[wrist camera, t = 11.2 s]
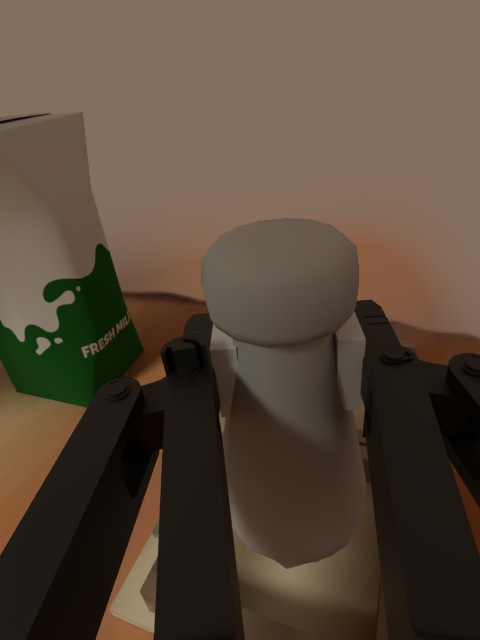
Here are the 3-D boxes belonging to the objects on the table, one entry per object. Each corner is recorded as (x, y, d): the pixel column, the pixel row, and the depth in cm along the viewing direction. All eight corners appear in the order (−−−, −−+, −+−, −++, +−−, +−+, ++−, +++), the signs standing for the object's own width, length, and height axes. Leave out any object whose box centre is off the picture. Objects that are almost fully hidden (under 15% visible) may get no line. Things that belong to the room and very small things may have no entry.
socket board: (113, 615, 17) (96, 589, 16) (262, 342, 33) (260, 317, 32) (392, 744, 13) (401, 724, 12) (412, 364, 29) (417, 337, 28)
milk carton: (74, 333, 37) (-24, 81, 26) (160, 345, 34) (89, 67, 23) (-2, 399, 30) (-177, 97, 19) (97, 422, 27) (-46, 80, 16)
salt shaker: (244, 455, 21) (206, 201, 14) (361, 470, 19) (386, 195, 12) (211, 576, 16) (127, 283, 9) (363, 608, 14) (404, 289, 7)
